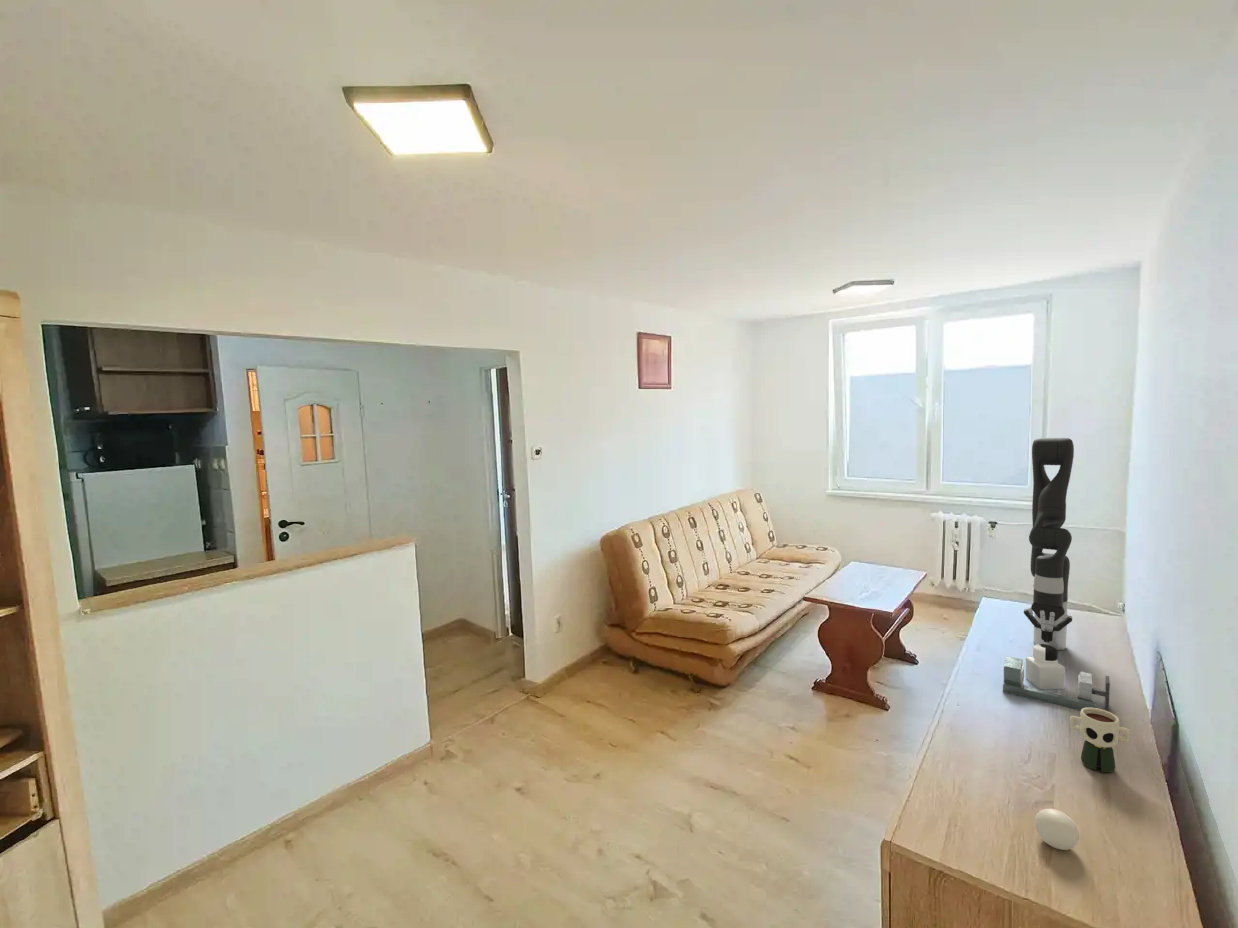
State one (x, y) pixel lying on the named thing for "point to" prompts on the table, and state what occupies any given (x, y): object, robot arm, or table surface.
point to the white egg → (1056, 829)
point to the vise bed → (1015, 687)
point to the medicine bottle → (1045, 668)
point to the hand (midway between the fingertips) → (1046, 641)
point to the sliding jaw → (1087, 690)
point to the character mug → (1099, 737)
